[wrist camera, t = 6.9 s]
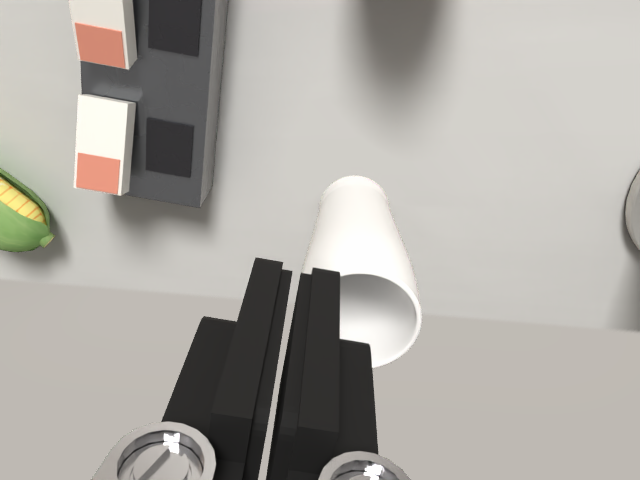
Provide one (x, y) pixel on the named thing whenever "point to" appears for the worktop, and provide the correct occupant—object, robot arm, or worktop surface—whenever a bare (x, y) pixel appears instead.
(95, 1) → the plate
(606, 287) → the worktop surface
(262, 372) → the robot arm
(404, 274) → the drinking glass
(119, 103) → the block
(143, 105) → the rocker switch panel
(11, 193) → the edible corn
